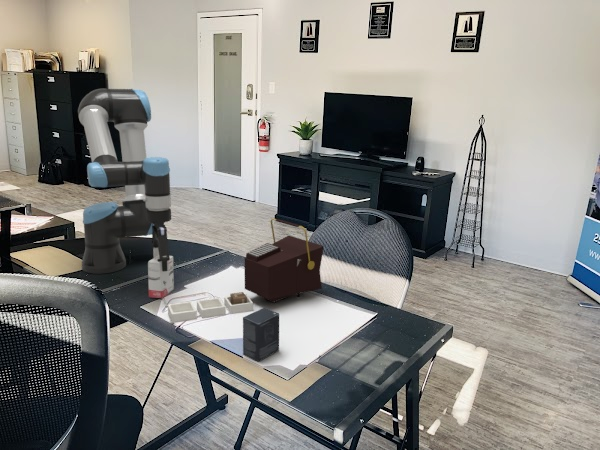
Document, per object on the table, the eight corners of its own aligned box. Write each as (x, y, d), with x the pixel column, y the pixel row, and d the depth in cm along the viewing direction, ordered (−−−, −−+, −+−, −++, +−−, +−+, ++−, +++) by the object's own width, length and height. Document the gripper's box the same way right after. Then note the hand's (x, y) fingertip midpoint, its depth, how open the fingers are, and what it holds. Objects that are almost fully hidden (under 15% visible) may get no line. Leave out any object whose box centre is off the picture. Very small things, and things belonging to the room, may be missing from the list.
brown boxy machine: (324, 294, 165) (328, 221, 158) (274, 316, 148) (276, 235, 142) (289, 281, 176) (291, 212, 169) (238, 299, 159) (238, 223, 153)
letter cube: (230, 305, 153) (230, 293, 152) (242, 303, 155) (242, 291, 154) (234, 311, 149) (234, 298, 148) (246, 309, 151) (246, 296, 150)
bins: (168, 313, 147) (167, 304, 147) (246, 302, 157) (246, 294, 156) (172, 324, 141) (171, 314, 140) (253, 312, 151) (253, 302, 150)
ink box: (163, 299, 157) (161, 262, 154) (148, 297, 158) (146, 261, 155) (175, 289, 165) (173, 255, 162) (161, 288, 166) (159, 253, 163)
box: (263, 343, 132) (264, 306, 130) (279, 351, 129) (280, 313, 126) (242, 354, 126) (242, 316, 124) (258, 362, 123) (258, 323, 120)
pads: (162, 298, 158) (162, 297, 158) (235, 288, 167) (235, 288, 167) (165, 307, 152) (165, 306, 152) (241, 296, 161) (241, 295, 161)
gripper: (141, 201, 163) (144, 262, 169) (151, 218, 141) (154, 288, 146) (164, 199, 166) (167, 260, 171) (177, 216, 144) (180, 285, 149)
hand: (161, 273), depth 159 cm, fingers open, 13 cm apart
